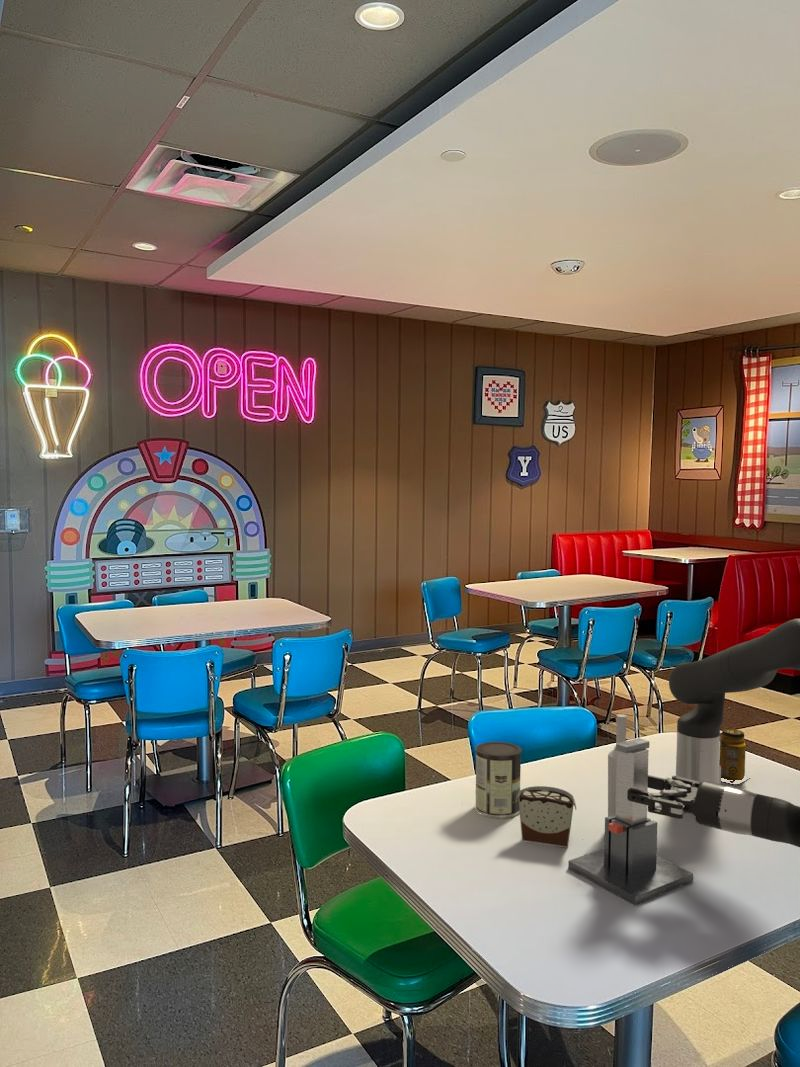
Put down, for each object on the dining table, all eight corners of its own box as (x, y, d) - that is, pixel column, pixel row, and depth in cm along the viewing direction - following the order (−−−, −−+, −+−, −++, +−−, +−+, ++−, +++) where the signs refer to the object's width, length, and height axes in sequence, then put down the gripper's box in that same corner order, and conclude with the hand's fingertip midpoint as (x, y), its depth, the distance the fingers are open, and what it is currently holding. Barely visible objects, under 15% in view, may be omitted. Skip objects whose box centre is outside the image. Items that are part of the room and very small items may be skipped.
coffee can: (503, 798, 186) (504, 738, 186) (529, 814, 177) (530, 751, 176) (466, 805, 182) (466, 744, 181) (490, 822, 172) (491, 758, 172)
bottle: (632, 838, 165) (635, 719, 164) (607, 836, 166) (609, 718, 165) (630, 828, 170) (633, 713, 169) (605, 826, 171) (608, 711, 170)
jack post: (632, 855, 152) (635, 736, 151) (650, 864, 149) (653, 742, 148) (609, 864, 149) (612, 742, 148) (627, 872, 145) (630, 748, 144)
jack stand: (625, 848, 160) (626, 797, 160) (693, 881, 147) (694, 825, 146) (568, 868, 151) (569, 814, 151) (635, 904, 138) (636, 845, 137)
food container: (579, 836, 166) (579, 789, 165) (575, 849, 160) (576, 800, 159) (520, 828, 170) (521, 782, 169) (514, 839, 164) (515, 792, 163)
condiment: (750, 778, 201) (752, 731, 200) (736, 786, 195) (738, 738, 194) (722, 770, 206) (723, 725, 206) (708, 778, 200) (709, 732, 200)
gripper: (738, 775, 144) (649, 757, 153) (717, 799, 132) (622, 778, 142) (737, 816, 144) (648, 795, 154) (715, 843, 133) (621, 819, 142)
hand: (636, 787), depth 148 cm, fingers open, 8 cm apart
